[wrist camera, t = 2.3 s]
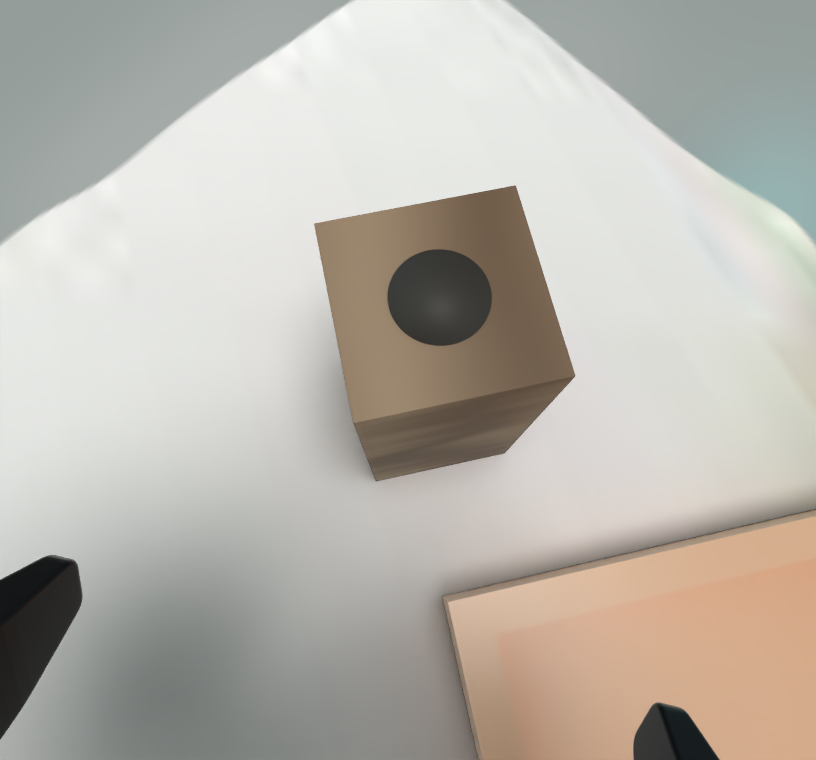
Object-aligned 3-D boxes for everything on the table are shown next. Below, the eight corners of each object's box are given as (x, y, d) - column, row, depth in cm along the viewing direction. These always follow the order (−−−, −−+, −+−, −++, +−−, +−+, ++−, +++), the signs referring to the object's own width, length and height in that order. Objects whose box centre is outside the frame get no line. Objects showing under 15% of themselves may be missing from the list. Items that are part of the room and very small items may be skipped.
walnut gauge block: (376, 481, 22) (353, 422, 13) (351, 358, 24) (314, 222, 14) (504, 453, 23) (575, 375, 13) (472, 333, 24) (515, 184, 15)
